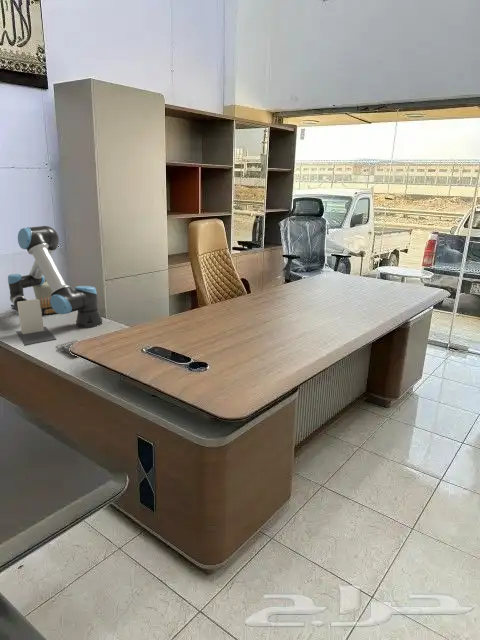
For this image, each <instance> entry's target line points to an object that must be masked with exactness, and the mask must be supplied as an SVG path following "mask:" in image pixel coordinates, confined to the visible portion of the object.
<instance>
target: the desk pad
mask: <svg viewBox="0 0 480 640" xmlns="http://www.w3.org/2000/svg"><path fill="white" fill-rule="evenodd" d="M43 327H44V331H39V332H33V333H28V334H22V331H21V330H17V331H15V334H16V335H17V336H18V338H19V340H21V342H22V343H23V346H24V347H25V346H31V345H35V344H37V345H38V344H40V343H42V344H43V343H47V342H51V341H52V342H53V341H57V338H56V337H55V335H54V334H53V333H52V332H51V331H50V330H49V329H48V328H47V326H43Z"/></svg>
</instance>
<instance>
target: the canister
mask: <svg viewBox="0 0 480 640" xmlns="http://www.w3.org/2000/svg"><path fill="white" fill-rule="evenodd" d="M44 278H45V277H44ZM44 280H45V281H44V283H43V284H41V285H38V286H32V289H33V293H34V295H35V299H39V300H40V305H41V297H42V299H43V304H44V297H45V299H46V303H47V297H48V299H49V303H50V296H51V293H52V290H51V289H50V287H49V285H48V283H47V281H46V279H44Z"/></svg>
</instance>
